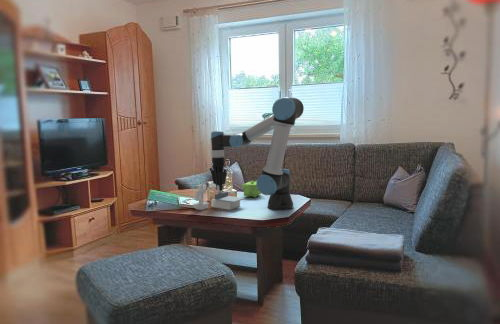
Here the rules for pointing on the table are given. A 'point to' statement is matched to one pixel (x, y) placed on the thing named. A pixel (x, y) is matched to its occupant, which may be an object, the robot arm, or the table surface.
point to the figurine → (200, 198)
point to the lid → (227, 197)
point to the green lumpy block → (251, 189)
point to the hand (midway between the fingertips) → (219, 195)
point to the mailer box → (224, 204)
